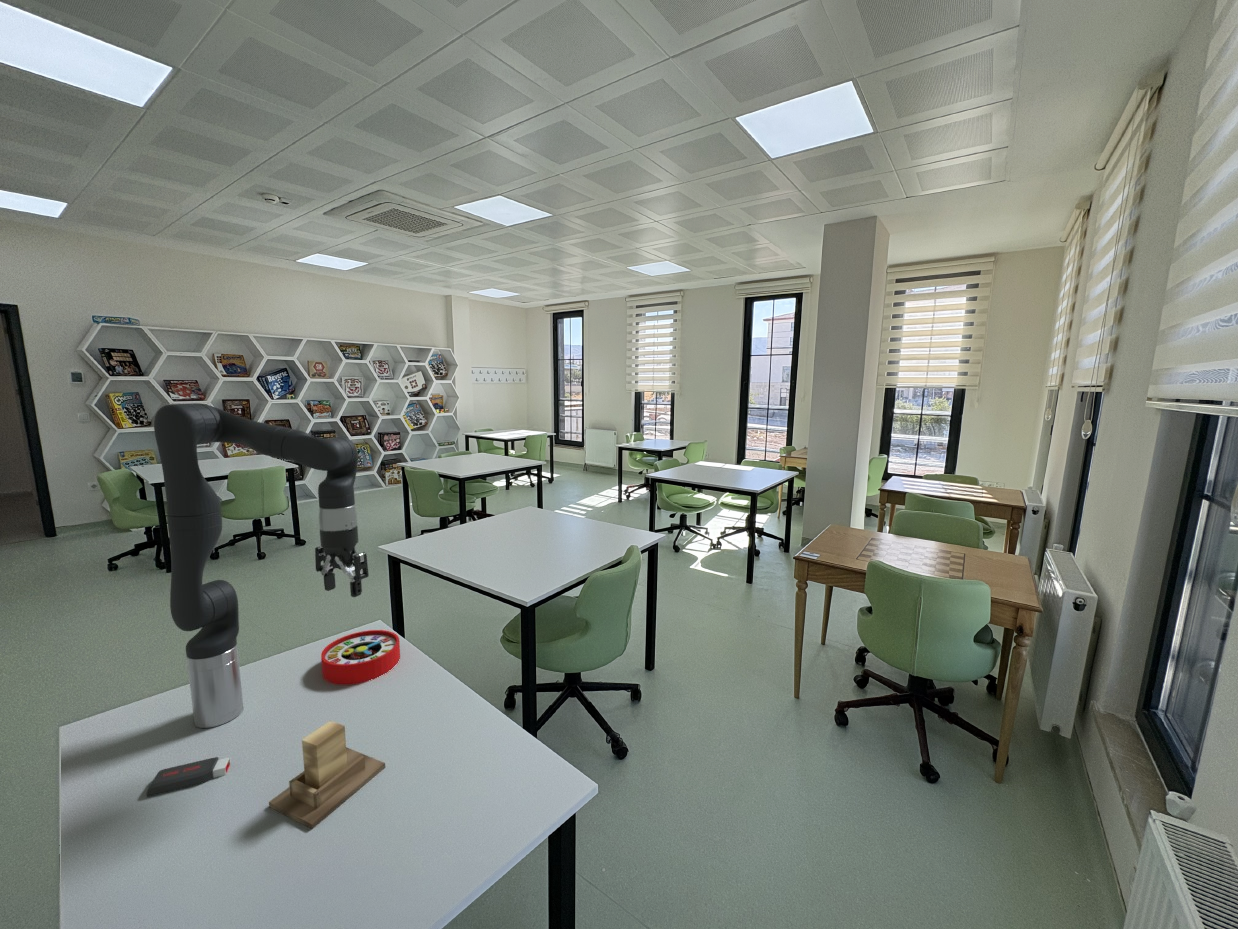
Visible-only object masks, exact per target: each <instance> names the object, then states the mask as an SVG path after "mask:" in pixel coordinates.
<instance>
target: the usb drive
mask: <svg viewBox="0 0 1238 929" xmlns="http://www.w3.org/2000/svg"><path fill="white" fill-rule="evenodd" d="M231 764H232V763H231V757H226V758H221V759H220V758H219V757H218V756H216V757H210V758H206V759H201V760H198V761H193V762H189V763H185V764H181V765H176V766H171V767H168V768H167V767H166V768H163V769H161V770H158V772H156V773H157V774H156V775H155V776H154V778H153V780H152V781H151V783H150V785H148V789H147V792H146V797H147V798H150V797H153V796H157V795H161V794H166V793H171V792H174V791H178V790H182V789H187V788H191V787H194V786H199V785H202V784H205V783H208V782H210V781H211V780H213V779H215V778H218V777H222V776H223V777H224V776H226V775H227V772H228V770H229V768H230V767H231V766H230V765H231Z"/></svg>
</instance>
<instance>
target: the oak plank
mask: <svg viewBox="0 0 1238 929" xmlns="http://www.w3.org/2000/svg"><path fill="white" fill-rule="evenodd" d="M301 747H302V755H303V771H304V772H305V784H306V785H308V786H310V787H312V788H314V789H316V790H318V789H319V788H320V787H322V786H323V785H324V784H326V783H327V782H328V781H330V780H331V779H332V778H333V777H335V776H336V775H337V774H339V773H340V772H341V771H342V770H344V769H345V768H346V767H348V766H347V752H346V747H347V740H346V726H345V725H343V724H341V723H337V722H335V721H332V720H329V721H327V723H325V724H323V725H322V726H321V727H318V729H316V730H315V731H313V732H311V733H310V734H309V735H307V736H305V737H304V738H303V739H301Z"/></svg>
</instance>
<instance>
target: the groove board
mask: <svg viewBox="0 0 1238 929" xmlns="http://www.w3.org/2000/svg"><path fill="white" fill-rule="evenodd" d="M346 752H347V766H348V767H346V768H345V769H344V770H342V771H341V772H340V773H339V774H337V775H336V776H335V777H333V778H332V779H331V780H330V781H328V782H327V783H326V784H324V785H323V786H322V787H320V788H319V789H318V790H316V789H314V788H312V787H310V786H308V785H306V784H305V772H304V770H303V771H302V772H300V773H299V774H297V775H296V776H295V777H293V778H292V779H290V780H288V786H289V787H287V788H285V790H282V792H281V793H279V794H278V795H276V796H274V797H273V798H272V799H271V800H269V801H268V807H269V808H270V809H272V810H275V811H276V812H279V813H281V814H283V815H285V816H287V817H288V818H290V819H292V820H293V821H296V822H297V823H299V824H301V825H303V826H305V827H307V828H309V829H311V830H313V829H314V828H315V827H316V826H318V825H319V824H320V823H322V821H324V820H326V818H327V817H328V816H330V815H331V814H332V813H334V811H335V810H337V809H338V808H339V807H341V806H342V805H343V804H344V803H345V802H346V801H347V800H348V799H350V798H351V797H352V796H353V795H354V794H356V793H357V792H358V791H359V790H360V789H362V788H363V787H364V786H365V785H366V784H368V782H370V781H371V780H372V779H373V778H375V777H376V776H377V775H379V773H381V771H383V770H384V769H385V768H386V763H385V762H384V761H382V760H378V759H376V758H375V757H371V756H370V755H367V754H364V753H362V752H359V751H356V750H354V749H352V748H350V747H347V746H346Z"/></svg>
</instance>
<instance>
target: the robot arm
mask: <svg viewBox="0 0 1238 929" xmlns="http://www.w3.org/2000/svg"><path fill="white" fill-rule="evenodd" d="M153 430H154V437H155V440H156V441H155V442H156V446H157V450H158V454H159V457H160V463H161V464H160V465H161V468H162V473H163V474H162V475H163V482H164V492H165V499H166V500H165V501H166V519H167V528H168V530H167V531H168V536H169V545H170V547H169V548H170V561H171V563H170V565H171V568H170V569H171V570H170V571H171V576H170V592H169V594H170V595H169V596H170V597H169V606H170V616H171V618H172V621H173V623H174V625H175V626H176V627H177V628H178V629H179V630H181V631H184V632H193V631H197V630H199V631H198V632H197V633H196V634H194V635H193V637H192V638H190V639H189V640H188V641H187V643H186V645H185V655H186V664H187V665H186V666H187V671H188V679H189V689H190V696H191V705H192V706H191V707H192V713H193V714H192V715H193V722H194V726H195V727H197V728H201V729H209V728H214V727H218V726H221V725H224V724H226V723H228V722H230V721H233V720H234V719H236V718H237V717H238V716H240V714H241V713H243V711H244V702H243V691H242V690H243V689H242V681H241V672H240V671H241V670H240V658H239V652H238V643H237V642H238V641H237V640H238V638H237V637H238V636H239V632H240V618H239V616H240V615H239V613H240V611H239V600H238V599H239V598H238V595H237V591H236V590H235V588H234V586H233V585H232V584H231V583H230V582H228V581H227V580H225V579H217V580H211V581H208V582H206V583H204V584H203V576H204V570H205V566H206V564H207V562H208V559H209V558H210V556H211V554H212V553H213V550H214V549H215V547H216V545H217V543H218V541H219V539H220V536H221V534H222V531H223V517H222V516H223V514H222V505H221V500H220V498H219V496H218V494H217V493H216V491H215V490H214V489H213V487H212V486H211V485H210V483H209V482H208V481H207V480H206V479H205V478H206V477H204V475H203V474H202V471H201V470H200V465H199V459H198V458H199V457H198V446H199V445H207V444H210V443H224V444H225V443H226V444H237V445H241V446H244V447H247V448H248V449H251V450H252V451H255V452H256V453H259V454H260V455H265V456H267V457H271V458H276V459H281V460H285V461H291V462H295V463H297V464H300V465H302V466H305V467H307V468H309V469H312V470H313V469H314V470H317V471H324V472H325V471H326V476H325V478H324V479H323V480H322V481H321V482H320V483H319V485H318V488H317V489H318V490H317V492H318V493H317V494H318V496H317V497H318V508H319V509H318V510H319V511H318V526H319V527H318V528H319V529H318V530H319V538H320V539H319V541H320V543H319V544H320V546H316V547H315V548H314V552H315V553H314V554H315V555H314V556H315V557H314V558H315V561H314V562H315V571H316V572H317V573H319V572H320V574H321V575H322V576H323V583H324V584H323V586H324V590H325V591H328V592H329V591H332V590H334V589H335V588H336V574H335V570H336V569H338V570H341V571H342V573H343V574H345V575H347V577H348V579H349V589H350V597H351V598H356V597H359V596H361V595H362V592H363V587H362V580H364V579H366V578H369V577H370V576H369V565H368V558H367V557H368V556H367V555H368V554H367V552H366V551H363V552H357V551H356V546H357V544H358V543H359V530H358V528H359V527H358V516H357V515H358V514H357V513H358V512H357V510H356V509H357V508H356V505H355V504H356V500H355V490H354V489H355V487H354V486H355V482H356V477H357V471H358V463H359V453H358V449H357V446H356V444H355V442H353V440H351V439H350V438H349V437H345V436H334V437H327V438H319V437H313V436H312V435H311V434H309V433H308V432H306V431H303V430H299V429H294V428H290V427H285V426H280V425H274V424H269V423H266V422H260V421H256V420H252V419H249V418H245V417H242V416H239V415H236V414H233V413H232V412H228V411H226V410H223V409H220V408H219V407H216V406H212V405H209V404H206V403H199V402H197V403H196V402H195V403H193V402H192V403H169V404H165V405H163V406H162V407H159V409H158V410H157V412H156V414H155V416H154V420H153ZM322 562H323V564H322ZM361 570H362V571H361Z"/></svg>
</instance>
